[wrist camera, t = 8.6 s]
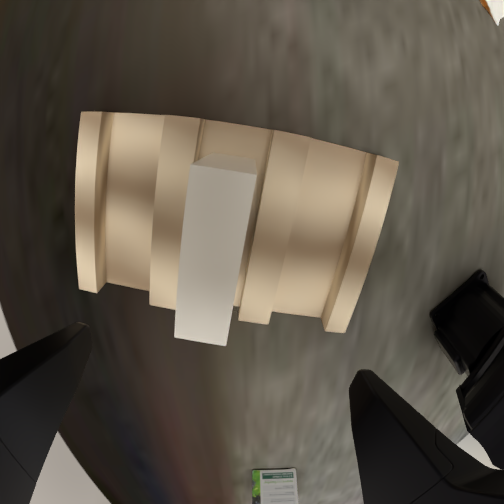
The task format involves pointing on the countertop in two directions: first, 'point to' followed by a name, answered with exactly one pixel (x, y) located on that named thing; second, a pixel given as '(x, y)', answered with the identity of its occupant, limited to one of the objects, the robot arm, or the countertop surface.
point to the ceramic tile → (212, 245)
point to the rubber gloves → (494, 8)
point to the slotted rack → (260, 219)
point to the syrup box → (274, 486)
